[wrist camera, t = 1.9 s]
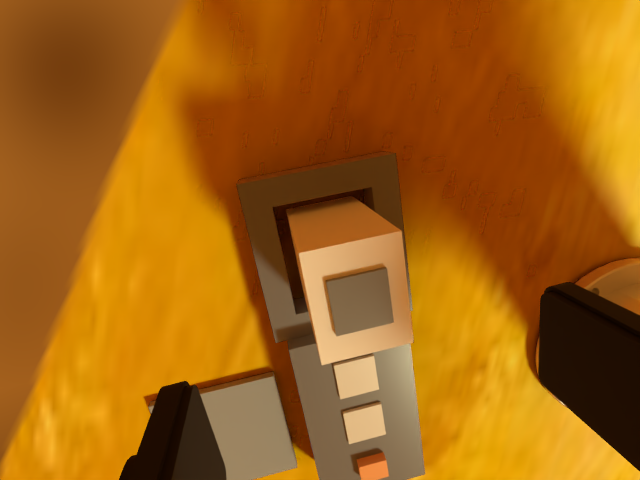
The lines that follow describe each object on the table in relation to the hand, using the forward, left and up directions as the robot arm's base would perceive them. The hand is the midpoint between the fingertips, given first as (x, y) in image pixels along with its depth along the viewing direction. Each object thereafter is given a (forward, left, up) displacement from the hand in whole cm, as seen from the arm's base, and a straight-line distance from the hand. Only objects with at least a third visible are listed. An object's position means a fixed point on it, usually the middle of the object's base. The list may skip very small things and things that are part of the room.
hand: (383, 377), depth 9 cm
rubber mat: (+8, +12, -13) cm, 20 cm away
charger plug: (-1, 0, -13) cm, 13 cm away
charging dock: (-1, +6, -13) cm, 14 cm away
